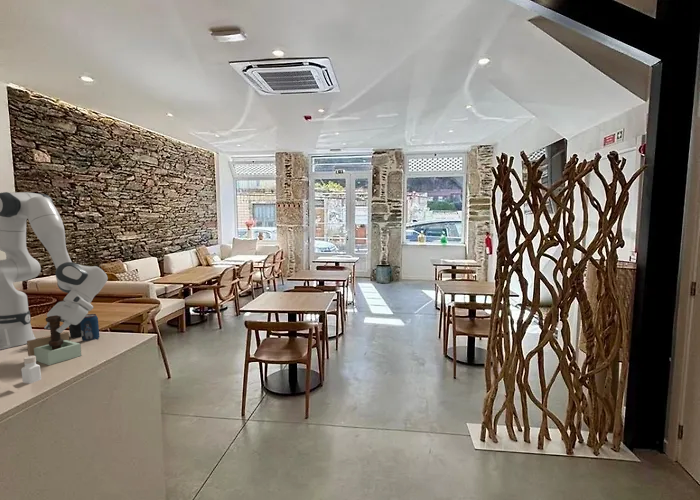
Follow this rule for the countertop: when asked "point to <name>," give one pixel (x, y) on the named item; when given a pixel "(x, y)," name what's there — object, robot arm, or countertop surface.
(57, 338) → the bolt
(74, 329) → the travel mug
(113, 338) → the countertop surface
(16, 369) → the countertop surface
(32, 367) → the pepper shaker
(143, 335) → the countertop surface
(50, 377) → the countertop surface
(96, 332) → the soda can
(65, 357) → the socket block
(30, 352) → the backstop board
